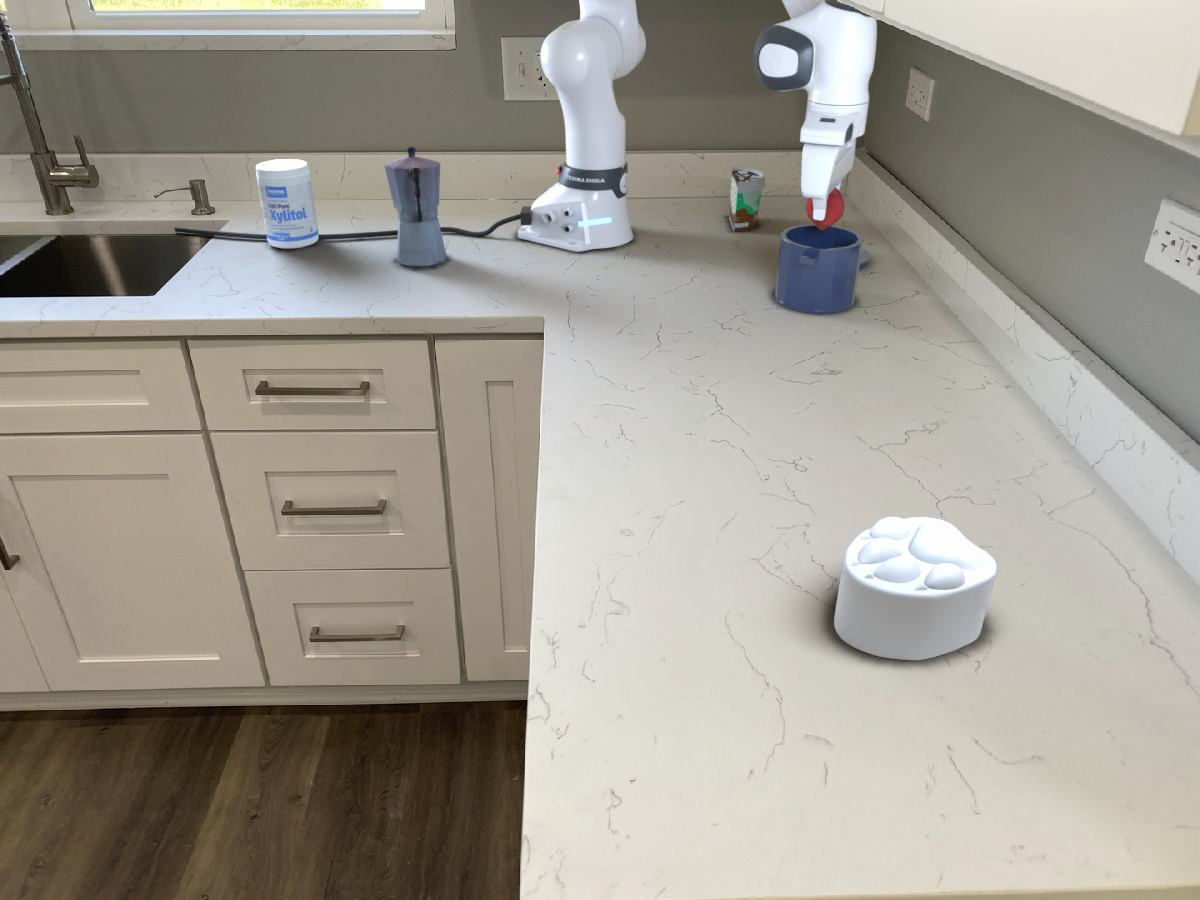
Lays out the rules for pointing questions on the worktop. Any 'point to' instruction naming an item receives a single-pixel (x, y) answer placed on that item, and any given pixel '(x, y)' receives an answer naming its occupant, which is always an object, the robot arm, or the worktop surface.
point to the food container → (745, 197)
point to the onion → (828, 210)
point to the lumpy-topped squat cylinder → (913, 589)
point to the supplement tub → (287, 203)
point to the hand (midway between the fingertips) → (824, 212)
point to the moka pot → (416, 209)
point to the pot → (818, 268)
